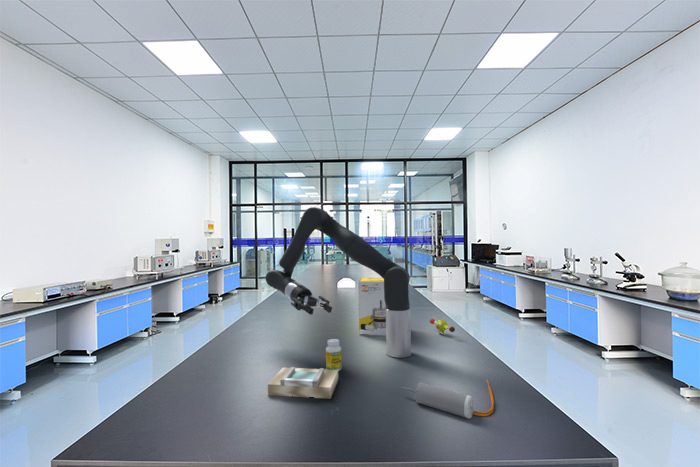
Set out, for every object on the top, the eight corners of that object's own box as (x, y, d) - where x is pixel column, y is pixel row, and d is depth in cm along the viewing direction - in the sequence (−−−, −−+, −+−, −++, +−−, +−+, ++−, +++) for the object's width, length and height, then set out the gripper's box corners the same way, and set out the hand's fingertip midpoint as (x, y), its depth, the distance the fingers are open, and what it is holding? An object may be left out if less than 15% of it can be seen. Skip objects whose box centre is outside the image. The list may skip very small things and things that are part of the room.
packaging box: (392, 326, 158) (391, 277, 159) (394, 335, 142) (393, 281, 143) (361, 326, 159) (360, 277, 161) (359, 335, 143) (358, 281, 144)
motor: (485, 427, 70) (485, 403, 70) (397, 399, 83) (398, 379, 84) (504, 402, 88) (504, 383, 89) (430, 382, 101) (430, 366, 102)
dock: (338, 379, 95) (338, 365, 96) (330, 399, 83) (330, 382, 84) (283, 377, 98) (282, 362, 98) (267, 395, 86) (267, 379, 86)
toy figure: (425, 329, 150) (425, 316, 151) (435, 328, 152) (435, 315, 152) (448, 340, 133) (447, 324, 133) (458, 339, 135) (458, 323, 135)
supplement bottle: (336, 364, 107) (336, 337, 108) (344, 369, 103) (344, 341, 103) (323, 368, 105) (322, 339, 105) (330, 373, 100) (330, 343, 100)
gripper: (284, 285, 117) (308, 302, 105) (314, 284, 127) (339, 300, 115) (280, 303, 118) (303, 323, 106) (310, 301, 128) (334, 318, 116)
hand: (321, 311), depth 111 cm, fingers open, 8 cm apart
